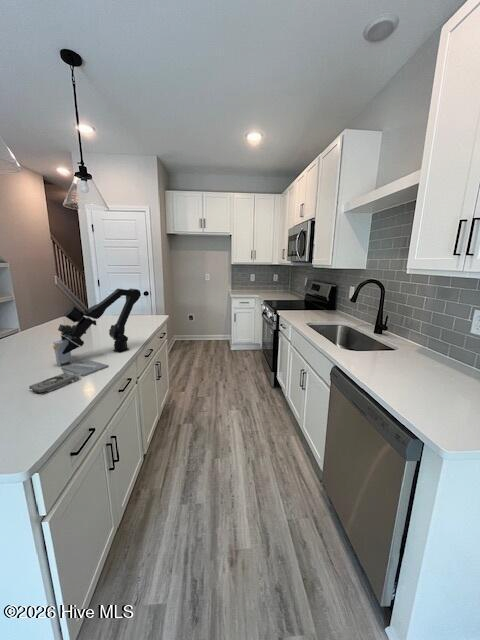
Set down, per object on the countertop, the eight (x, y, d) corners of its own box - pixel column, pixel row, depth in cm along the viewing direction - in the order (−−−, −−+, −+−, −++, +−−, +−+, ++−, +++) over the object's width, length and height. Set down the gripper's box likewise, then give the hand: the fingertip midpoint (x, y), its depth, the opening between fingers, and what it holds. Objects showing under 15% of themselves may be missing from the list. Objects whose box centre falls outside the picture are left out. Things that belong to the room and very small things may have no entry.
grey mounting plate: (86, 360, 141) (86, 356, 140) (108, 367, 132) (107, 362, 132) (61, 369, 130) (60, 364, 129) (83, 376, 121) (82, 371, 121)
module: (69, 361, 140) (66, 339, 137) (72, 363, 136) (68, 341, 134) (55, 364, 135) (51, 341, 132) (57, 367, 132) (54, 344, 129)
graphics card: (64, 368, 123) (81, 372, 118) (66, 376, 124) (82, 380, 119) (23, 383, 108) (40, 389, 103) (25, 391, 109) (41, 397, 104)
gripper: (62, 316, 140) (40, 339, 134) (73, 321, 128) (50, 347, 122) (80, 327, 147) (60, 350, 142) (92, 333, 135) (71, 359, 130)
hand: (60, 351), depth 134 cm, fingers open, 9 cm apart
